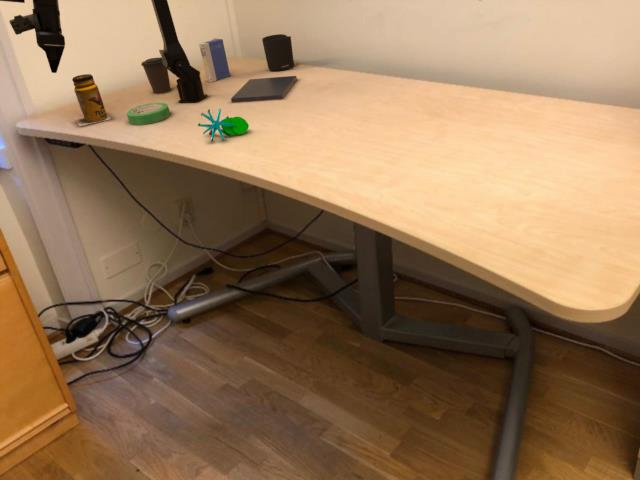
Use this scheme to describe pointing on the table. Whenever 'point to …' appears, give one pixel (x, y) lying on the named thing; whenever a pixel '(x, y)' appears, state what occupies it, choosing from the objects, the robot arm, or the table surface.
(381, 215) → the table surface
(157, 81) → the coffee cup
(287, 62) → the black speaker
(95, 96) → the condiment
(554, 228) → the table surface
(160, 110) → the tape roll
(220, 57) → the blue white rectangular box
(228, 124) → the stick construction toy
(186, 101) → the robot arm
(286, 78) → the notebook
